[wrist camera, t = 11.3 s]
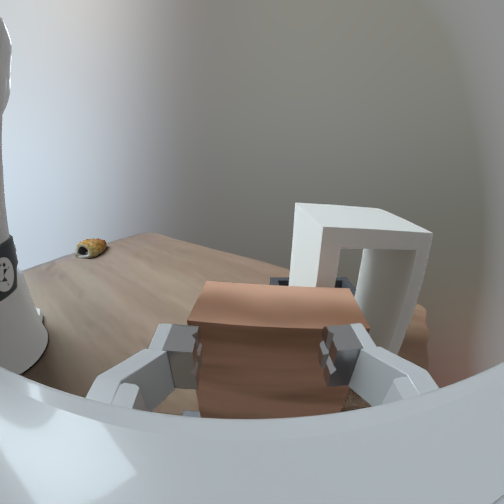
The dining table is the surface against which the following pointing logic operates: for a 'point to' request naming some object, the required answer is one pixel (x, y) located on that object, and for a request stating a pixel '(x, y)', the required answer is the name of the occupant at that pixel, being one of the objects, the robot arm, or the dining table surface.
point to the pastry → (90, 248)
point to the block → (268, 349)
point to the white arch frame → (364, 262)
